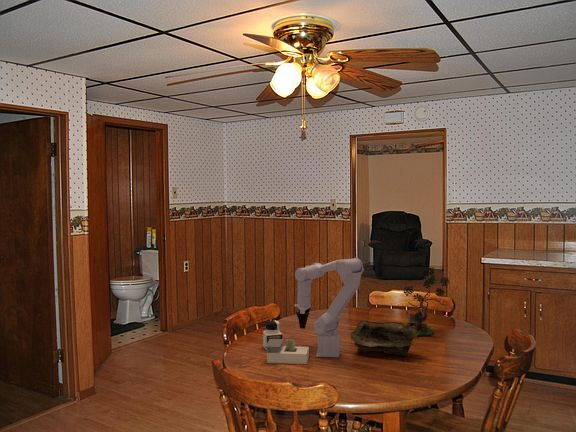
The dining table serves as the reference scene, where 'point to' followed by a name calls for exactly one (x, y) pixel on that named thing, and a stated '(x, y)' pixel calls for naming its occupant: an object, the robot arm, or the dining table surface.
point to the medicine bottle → (271, 332)
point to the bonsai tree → (419, 318)
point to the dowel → (290, 345)
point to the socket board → (285, 353)
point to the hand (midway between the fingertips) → (303, 325)
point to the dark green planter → (384, 337)
